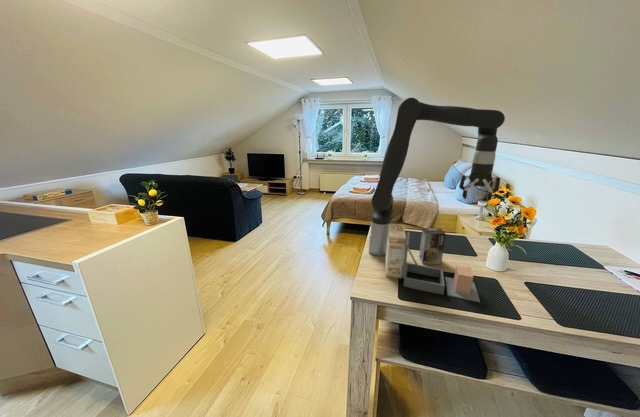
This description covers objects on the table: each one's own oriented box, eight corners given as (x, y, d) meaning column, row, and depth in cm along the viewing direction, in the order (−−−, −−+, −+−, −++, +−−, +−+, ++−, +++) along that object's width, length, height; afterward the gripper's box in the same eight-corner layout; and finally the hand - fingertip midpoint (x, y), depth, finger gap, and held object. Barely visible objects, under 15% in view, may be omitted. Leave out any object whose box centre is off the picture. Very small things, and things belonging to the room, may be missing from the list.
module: (455, 291, 98) (458, 274, 96) (453, 282, 104) (456, 265, 102) (469, 294, 96) (473, 277, 94) (466, 284, 103) (470, 267, 100)
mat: (447, 295, 97) (447, 294, 97) (444, 277, 108) (445, 276, 108) (479, 302, 93) (480, 301, 93) (473, 283, 104) (474, 282, 104)
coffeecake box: (402, 278, 108) (406, 237, 102) (385, 276, 110) (388, 236, 104) (400, 261, 122) (404, 224, 116) (385, 259, 123) (388, 223, 117)
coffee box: (436, 257, 125) (441, 228, 120) (441, 264, 119) (446, 233, 114) (418, 257, 126) (422, 227, 121) (421, 263, 120) (426, 233, 115)
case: (400, 285, 103) (405, 244, 97) (403, 269, 115) (407, 232, 109) (443, 294, 97) (450, 251, 91) (441, 277, 109) (447, 237, 103)
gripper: (464, 162, 102) (458, 200, 107) (506, 164, 97) (497, 203, 102) (462, 160, 109) (456, 196, 114) (501, 161, 103) (493, 199, 108)
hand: (476, 199), depth 108 cm, fingers open, 8 cm apart
